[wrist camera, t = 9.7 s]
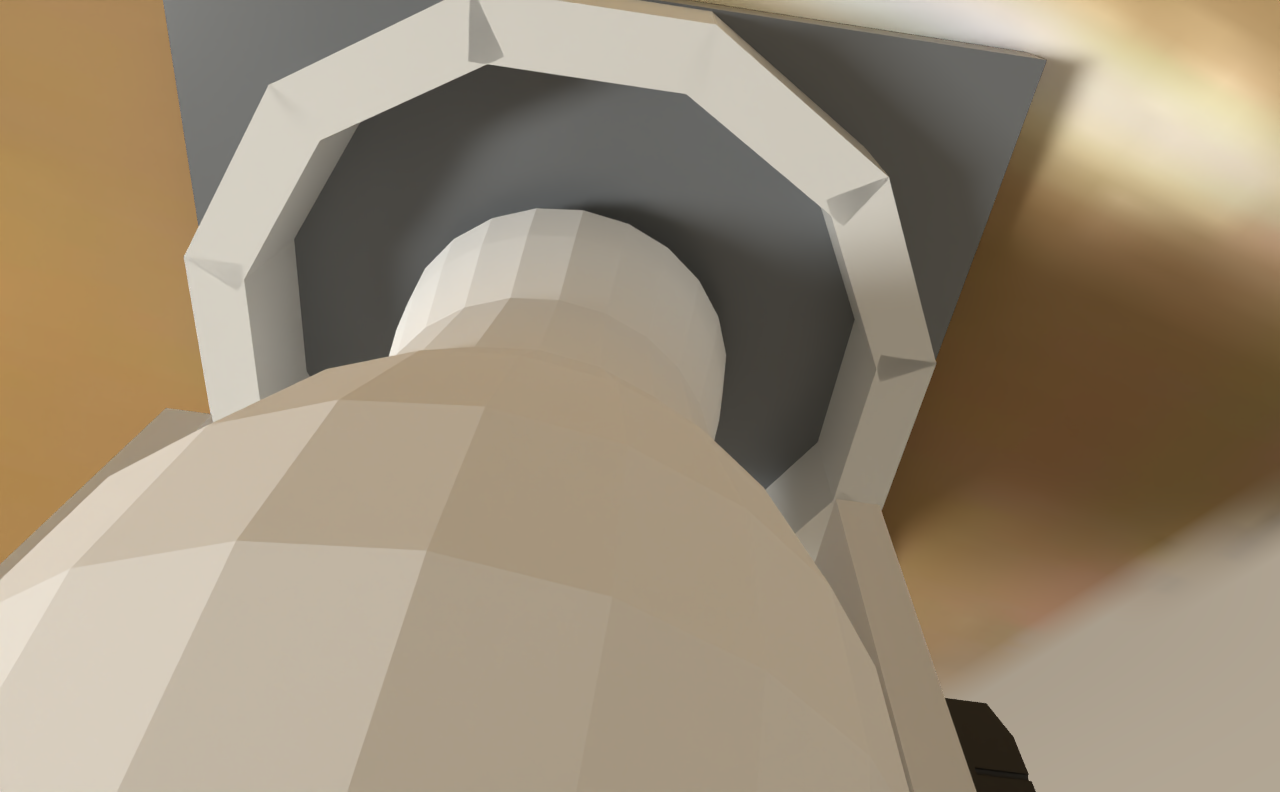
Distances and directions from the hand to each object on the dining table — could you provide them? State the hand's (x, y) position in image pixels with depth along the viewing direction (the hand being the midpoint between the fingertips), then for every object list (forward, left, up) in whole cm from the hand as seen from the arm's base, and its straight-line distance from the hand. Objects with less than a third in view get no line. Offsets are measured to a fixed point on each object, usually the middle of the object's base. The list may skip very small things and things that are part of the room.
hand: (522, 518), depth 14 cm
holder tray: (0, 0, -8) cm, 8 cm away
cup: (0, 0, -6) cm, 6 cm away
